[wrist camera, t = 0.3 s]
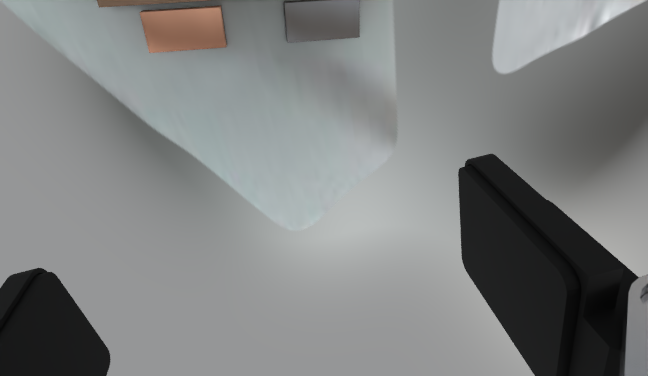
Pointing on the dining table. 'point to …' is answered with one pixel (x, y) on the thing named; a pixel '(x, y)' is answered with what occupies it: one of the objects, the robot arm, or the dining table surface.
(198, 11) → the terracotta tag dock
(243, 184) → the dining table surface
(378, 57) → the dining table surface
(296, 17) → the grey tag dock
